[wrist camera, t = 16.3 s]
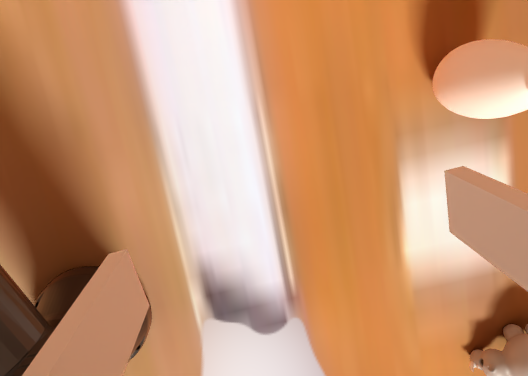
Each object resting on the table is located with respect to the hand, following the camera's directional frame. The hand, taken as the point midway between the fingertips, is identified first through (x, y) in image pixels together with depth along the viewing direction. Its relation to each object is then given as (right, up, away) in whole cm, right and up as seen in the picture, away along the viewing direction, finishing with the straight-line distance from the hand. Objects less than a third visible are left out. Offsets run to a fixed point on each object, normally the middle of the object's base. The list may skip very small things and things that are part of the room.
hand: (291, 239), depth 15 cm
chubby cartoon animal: (+36, -22, +43) cm, 60 cm away
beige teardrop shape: (+21, +15, +30) cm, 40 cm away
